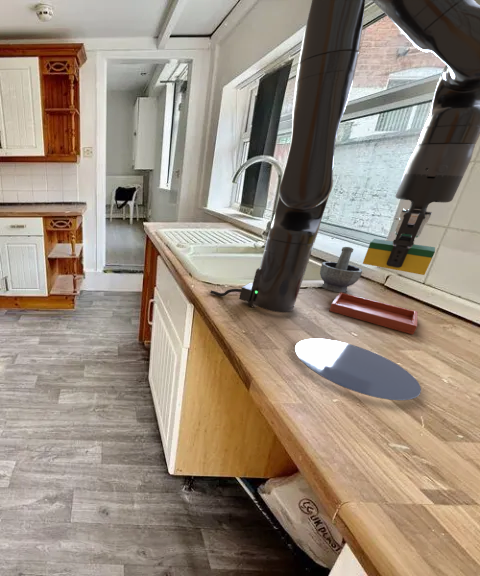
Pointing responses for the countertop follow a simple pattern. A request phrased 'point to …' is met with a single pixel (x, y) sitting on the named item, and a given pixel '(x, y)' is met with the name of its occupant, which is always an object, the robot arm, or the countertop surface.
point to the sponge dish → (375, 312)
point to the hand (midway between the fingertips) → (394, 263)
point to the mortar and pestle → (340, 272)
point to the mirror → (357, 369)
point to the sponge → (413, 262)
